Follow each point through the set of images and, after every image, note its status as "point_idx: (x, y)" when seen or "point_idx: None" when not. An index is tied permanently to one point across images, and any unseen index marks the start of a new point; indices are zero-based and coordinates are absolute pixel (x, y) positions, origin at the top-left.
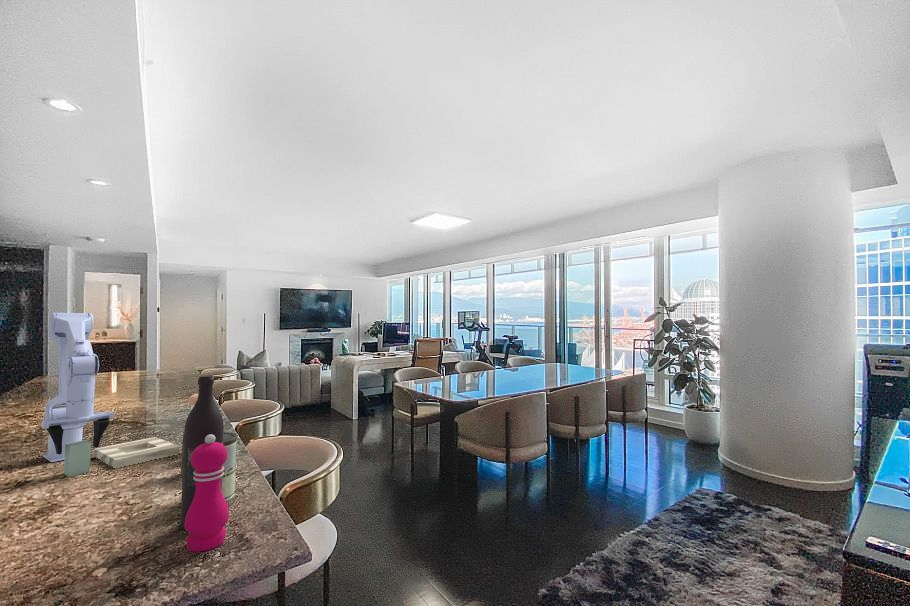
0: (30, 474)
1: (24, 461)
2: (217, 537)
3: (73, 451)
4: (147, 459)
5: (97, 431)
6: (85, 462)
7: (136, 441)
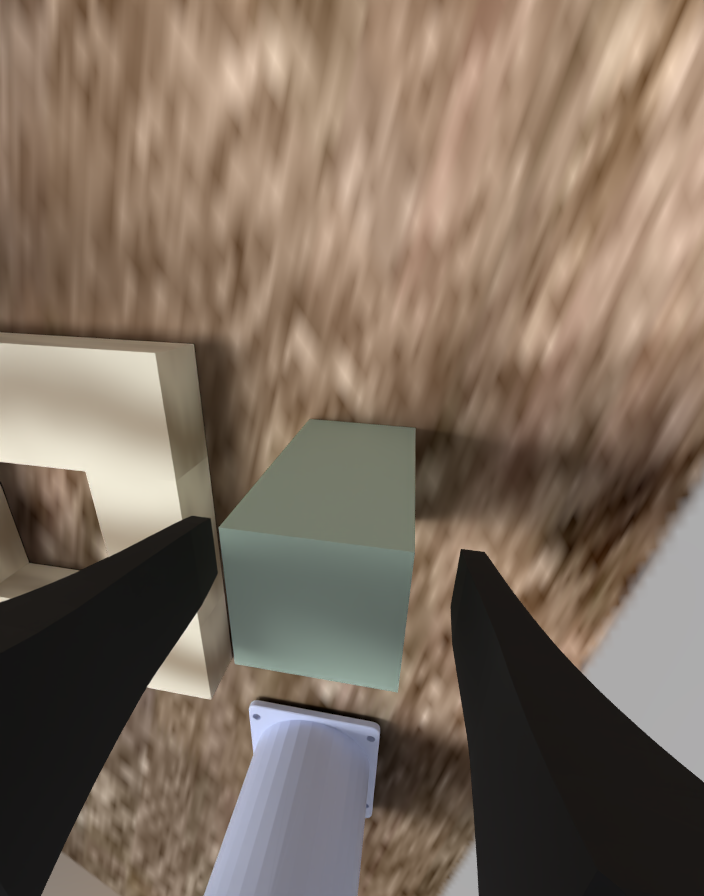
0: None
1: (433, 811)
2: None
3: (383, 508)
4: (14, 336)
5: (75, 639)
6: (316, 446)
7: None
